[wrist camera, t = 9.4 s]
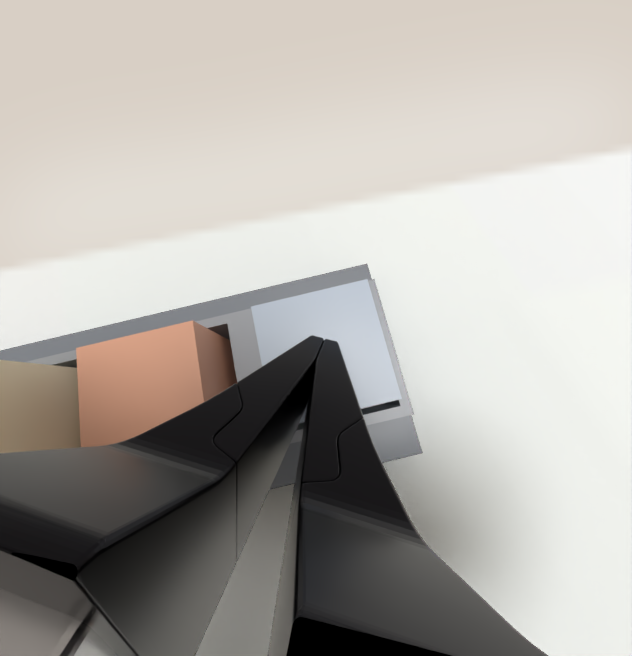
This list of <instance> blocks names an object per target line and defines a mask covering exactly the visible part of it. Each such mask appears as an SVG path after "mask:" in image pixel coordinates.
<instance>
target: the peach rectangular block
mask: <svg viewBox="0 0 632 656" xmlns="http://www.w3.org/2000/svg"><path fill="white" fill-rule="evenodd" d="M76 355H77V377H78V398H79V420H80V441H81V447H91V446H102V445H109V444H115V443H118V442H122V441H125V440H128V439H130V438H133V437H135V436H137V435H140V434H142V433H144V432H146V431H148V430H150V429H152V428H154V427H156V426H158V425H160V424H162V423H164V422H166V421H168V420H170V419H172V418H174V417H176V416H178V415H180V414H182V413H184V412H186V411H188V410H190V409H192V408H194V407H196V406H198V405H199V404H201V403H203V402H205V401H207V400H209V399H211V398H212V397H214V396H216V395H217V394H219V393H221V392H222V391H224V390H226V389H227V388H229V387H230V386H232V385H234V384H237V378H236V372H235V366H234V360H233V354H232V348H231V342H230V340H228V339H226V338H225V337H223V336H221V335H219V334H217V333H215V332H213V331H211V330H210V329H208V328H206V327H204V326H202V325H200V324H198V323H197V322H195V321H193V320H192V321H188V322H184V323H180V324H175V325H171V326H167V327H163V328H158V329H154V330H150V331H146V332H142V333H137V334H133V335H129V336H125V337H120V338H116V339H112V340H108V341H104V342H99V343H95V344H91V345H87V346H83V347H78V348H76Z"/></svg>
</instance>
